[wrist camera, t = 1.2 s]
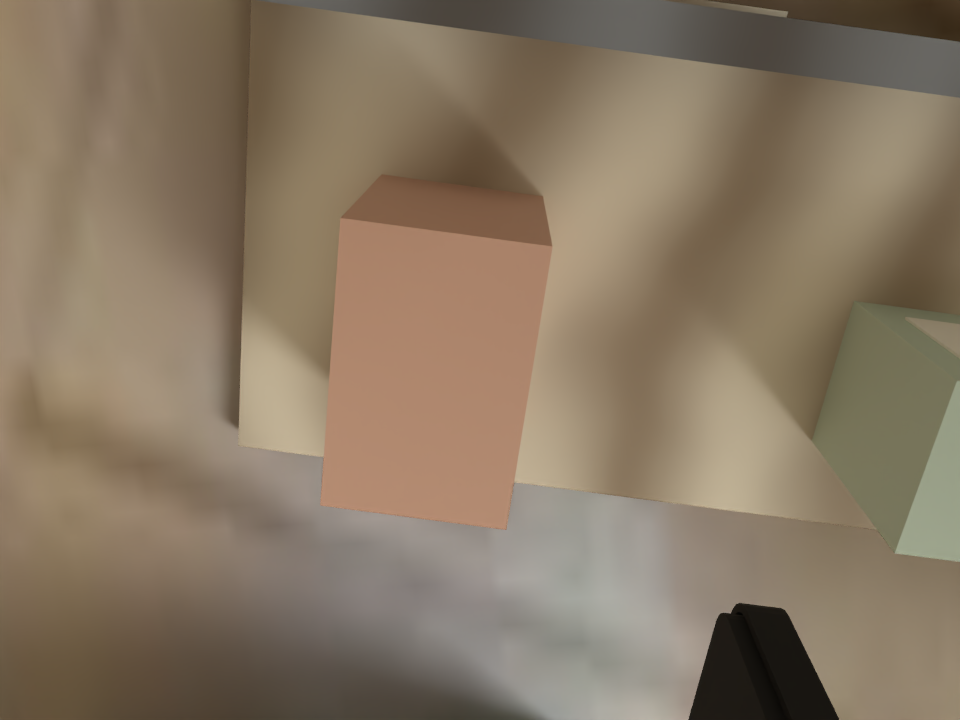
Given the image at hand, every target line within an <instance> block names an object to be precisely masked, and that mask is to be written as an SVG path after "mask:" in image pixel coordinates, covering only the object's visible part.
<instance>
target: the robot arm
mask: <svg viewBox="0 0 960 720" xmlns="http://www.w3.org/2000/svg"><path fill="white" fill-rule="evenodd" d="M689 720H839V718H838V716H837V714H836V712H835V710H834V708H833V706H832V704H831V702H830V700H829V698H828V696H827V693H826V691H825V689H824V687H823V685H822V683H821V681H820V679H819V677H818V675H817V673H816V671H815V669H814V667H813V665H812V663H811V661H810V659H809V657H808V655H807V652H806V650H805V648H804V646H803V644H802V642H801V640H800V638H799V636H798V634H797V632H796V630H795V628H794V626H793V624H792V622H791V620H790V618H789V616H788V614H787V613H786V611H785V610H783V609H781V608H775V607H767V606H758V605H750V604H742V603H739V604H736V605H735V607H734V608H733V610H732V612H731V614H729V613H721V614H720V615H719V616H718V618H717V621H716V624H715V627H714V631H713V635H712V638H711V642H710V645H709V649H708V652H707V656H706V659H705V663H704V667H703V670H702V674H701V677H700V681H699V684H698V688H697V691H696V695H695V699H694V702H693V706H692V709H691V713H690V716H689Z"/></svg>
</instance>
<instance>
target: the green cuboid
mask: <svg viewBox="0 0 960 720" xmlns="http://www.w3.org/2000/svg"><path fill="white" fill-rule="evenodd" d="M812 442H813V444H814V445H815V446H816V448H817V449H818V450H819V452H820V453H821V454H822V456H823V457H824V458H825V460H826V461H827V462H828V464H829V465H830V467H831V468H832V469H833V471H834V472H835V473H836V475H837V476H838V477H839V479H840V480H841V481H842V483H843V484H844V485H845V487H846V488H847V490H848V491H849V492H850V494H851V495H852V496H853V498H854V499H855V500H856V502H857V503H858V504H859V506H860V507H861V508H862V510H863V511H864V513H865V514H866V515H867V517H868V518H869V519H870V521H871V522H872V523H873V525H874V526H875V527H876V529H877V530H878V531H879V533H880V534H881V536H882V537H883V538H884V540H885V541H886V542H887V544H888V545H889V546H890V548H891V549H892V550H893V552H894V553H896V554H903V555H911V556H919V557H926V558H934V559H941V560H949V561H957V562H960V315H955V314H948V313H940V312H933V311H926V310H918V309H911V308H903V307H896V306H889V305H881V304H874V303H866V302H859V301H854V302H853V306H852V309H851V312H850V316H849V319H848V322H847V326H846V329H845V332H844V336H843V339H842V342H841V345H840V349H839V352H838V355H837V359H836V362H835V365H834V369H833V372H832V375H831V379H830V382H829V385H828V388H827V392H826V395H825V398H824V402H823V405H822V408H821V412H820V415H819V418H818V422H817V425H816V428H815V431H814V435H813V438H812Z"/></svg>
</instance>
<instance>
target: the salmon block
mask: <svg viewBox="0 0 960 720" xmlns="http://www.w3.org/2000/svg"><path fill="white" fill-rule="evenodd" d="M552 247H553V246H552V241H551V236H550V231H549V225H548V220H547V215H546V210H545V204H544V199H543V196H537V195H530V194H522V193H515V192H508V191H500V190H493V189H486V188H478V187H471V186H464V185H456V184H449V183H442V182H434V181H427V180H420V179H412V178H405V177H398V176H390V175H383V174H381V176H380V177H379V178H378V179H377V180H376V181H375V182H374V183H373V184H372V185H371V186H370V187H369V188H368V189H367V190H366V191H365V192H364V194H363V195H362V196H361V197H360V198H359V199H358V200H357V201H356V202H355V203H354V204H353V205H352V206H351V207H350V208H349V209H348V210H347V211H346V213H345V214H344V215H343V216H342V217H341V218H340V231H339V246H338V260H337V274H336V288H335V303H334V317H333V331H332V346H331V360H330V374H329V389H328V403H327V417H326V431H325V446H324V460H323V474H322V489H321V503H320V505H321V506H328V507H336V508H344V509H351V510H359V511H366V512H374V513H382V514H389V515H397V516H405V517H412V518H420V519H427V520H435V521H443V522H450V523H458V524H466V525H473V526H481V527H489V528H496V529H504V530H506V529H507V522H508V516H509V510H510V504H511V498H512V492H513V486H514V480H515V473H516V467H517V461H518V455H519V449H520V443H521V437H522V431H523V424H524V418H525V412H526V406H527V400H528V394H529V388H530V382H531V376H532V369H533V363H534V357H535V351H536V345H537V339H538V333H539V327H540V320H541V314H542V308H543V302H544V296H545V290H546V284H547V278H548V272H549V265H550V259H551V253H552Z"/></svg>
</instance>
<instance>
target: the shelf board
mask: <svg viewBox="0 0 960 720" xmlns="http://www.w3.org/2000/svg"><path fill="white" fill-rule="evenodd" d="M787 14H788V12H787V11H780V10H772V9H765V8H758V7H751V6H744V5H737V4H729V3H722V2H715V1H708V0H251V20H250V55H249V90H248V125H247V159H246V194H245V229H244V264H243V299H242V333H241V368H240V403H239V438H238V446H243V447H251V448H258V449H266V450H273V451H281V452H289V453H296V454H304V455H311V456H319V457H324V446H325V431H326V417H327V403H328V389H329V374H330V360H331V346H332V331H333V317H334V303H335V288H336V274H337V260H338V246H339V231H340V218H341V217H342V216H343V215H344V214H345V213H346V211H347V210H348V209H349V208H350V207H351V206H352V205H353V204H354V203H355V202H356V201H357V200H358V199H359V198H360V197H361V196H362V195H363V194H364V192H365V191H366V190H367V189H368V188H369V187H370V186H371V185H372V184H373V183H374V182H375V181H376V180H377V179H378V178H379V177H380V176H381V174H383V175H390V176H398V177H405V178H412V179H420V180H427V181H434V182H442V183H449V184H456V185H464V186H471V187H478V188H486V189H493V190H500V191H508V192H515V193H522V194H530V195H537V196H543V199H544V204H545V210H546V215H547V220H548V225H549V231H550V236H551V241H552V246H553V247H552V253H551V259H550V265H549V272H548V278H547V284H546V290H545V296H544V302H543V308H542V314H541V320H540V327H539V333H538V339H537V345H536V351H535V357H534V363H533V369H532V376H531V382H530V388H529V394H528V400H527V406H526V412H525V418H524V424H523V431H522V437H521V443H520V449H519V455H518V461H517V467H516V473H515V480H514V482H516V483H524V484H532V485H539V486H547V487H554V488H562V489H569V490H577V491H585V492H592V493H600V494H607V495H615V496H623V497H630V498H638V499H645V500H653V501H661V502H668V503H676V504H683V505H691V506H698V507H706V508H714V509H721V510H729V511H736V512H744V513H752V514H759V515H767V516H774V517H782V518H790V519H797V520H805V521H812V522H820V523H827V524H835V525H843V526H850V527H858V528H865V529H873V530H877V529H876V527H875V526H874V525H873V523H872V522H871V521H870V519H869V518H868V517H867V515H866V514H865V513H864V511H863V510H862V508H861V507H860V506H859V504H858V503H857V502H856V500H855V499H854V498H853V496H852V495H851V494H850V492H849V491H848V490H847V488H846V487H845V485H844V484H843V483H842V481H841V480H840V479H839V477H838V476H837V475H836V473H835V472H834V471H833V469H832V468H831V467H830V465H829V464H828V462H827V461H826V460H825V458H824V457H823V456H822V454H821V453H820V452H819V450H818V449H817V448H816V446H815V445H814V444H813V442H812V438H813V435H814V431H815V428H816V425H817V422H818V418H819V415H820V412H821V408H822V405H823V402H824V398H825V395H826V392H827V388H828V385H829V382H830V379H831V375H832V372H833V369H834V365H835V362H836V359H837V355H838V352H839V349H840V345H841V342H842V339H843V336H844V332H845V329H846V326H847V322H848V319H849V316H850V312H851V309H852V306H853V302H854V301H859V302H866V303H874V304H881V305H889V306H896V307H903V308H911V309H918V310H926V311H933V312H940V313H948V314H955V315H960V42H958V41H950V40H943V39H936V38H929V37H922V36H915V35H907V34H900V33H893V32H886V31H879V30H872V29H864V28H857V27H850V26H843V25H836V24H829V23H821V22H814V21H807V20H800V19H793V18H787Z"/></svg>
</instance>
